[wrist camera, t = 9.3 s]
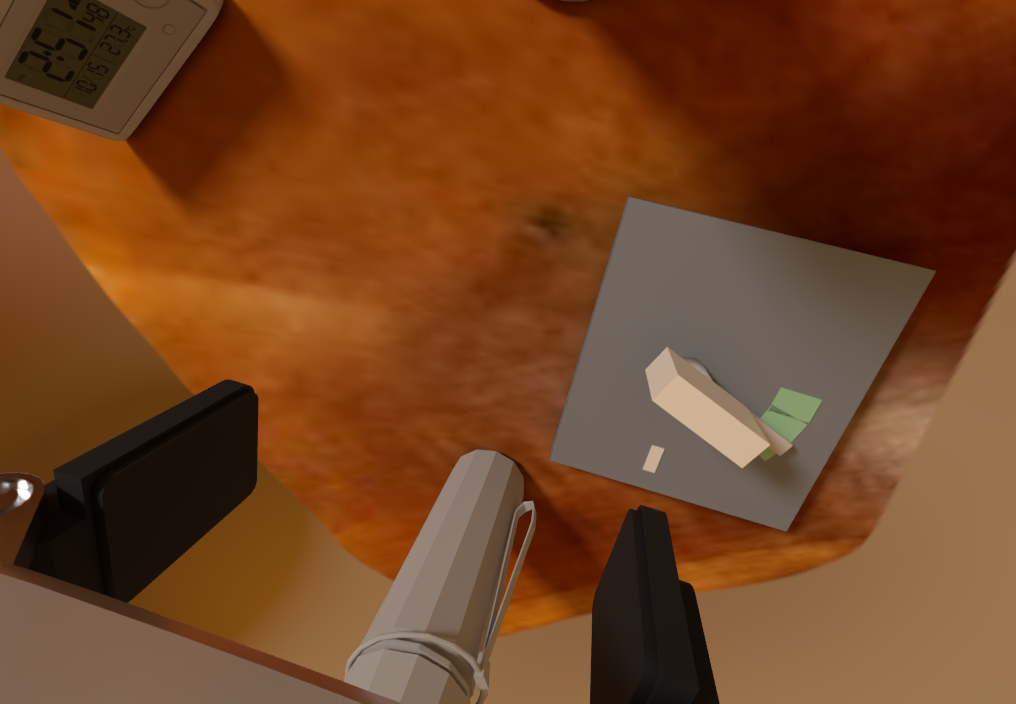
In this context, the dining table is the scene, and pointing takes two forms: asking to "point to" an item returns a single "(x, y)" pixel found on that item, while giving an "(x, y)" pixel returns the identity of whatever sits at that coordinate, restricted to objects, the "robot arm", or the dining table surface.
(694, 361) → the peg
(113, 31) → the digital clock
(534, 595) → the dining table surface
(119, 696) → the robot arm
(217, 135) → the dining table surface
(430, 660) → the water bottle
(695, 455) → the grey square board
